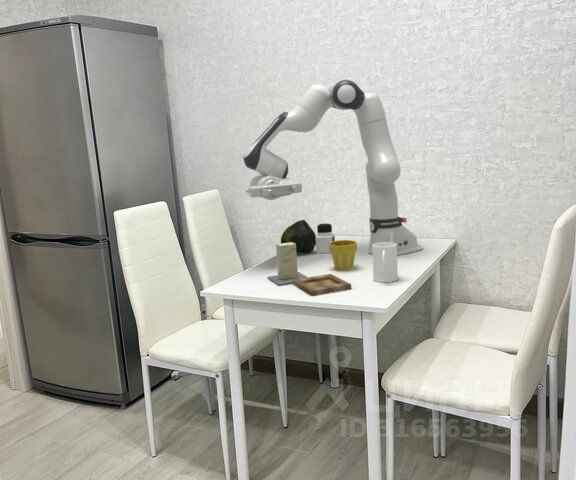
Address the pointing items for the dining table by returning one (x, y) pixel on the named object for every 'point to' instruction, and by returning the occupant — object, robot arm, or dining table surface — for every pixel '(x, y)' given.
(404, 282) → the dining table surface
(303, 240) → the squash
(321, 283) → the walnut tray
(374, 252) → the mug
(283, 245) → the skincare box
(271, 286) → the dining table surface
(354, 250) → the plant pot
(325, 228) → the medicine bottle
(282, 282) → the mat
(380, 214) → the robot arm
